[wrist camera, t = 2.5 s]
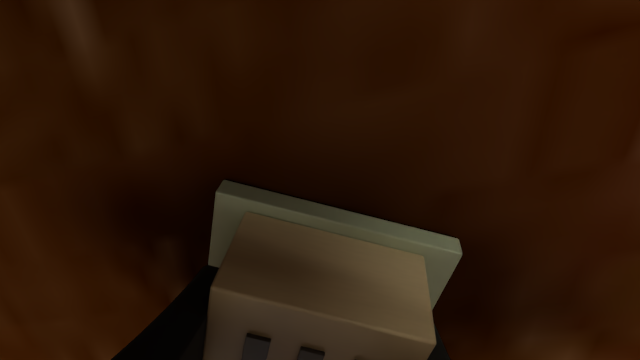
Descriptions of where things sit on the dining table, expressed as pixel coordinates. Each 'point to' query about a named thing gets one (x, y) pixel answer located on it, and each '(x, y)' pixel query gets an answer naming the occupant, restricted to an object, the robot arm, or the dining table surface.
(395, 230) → the word board
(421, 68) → the dining table surface
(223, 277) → the beige block
